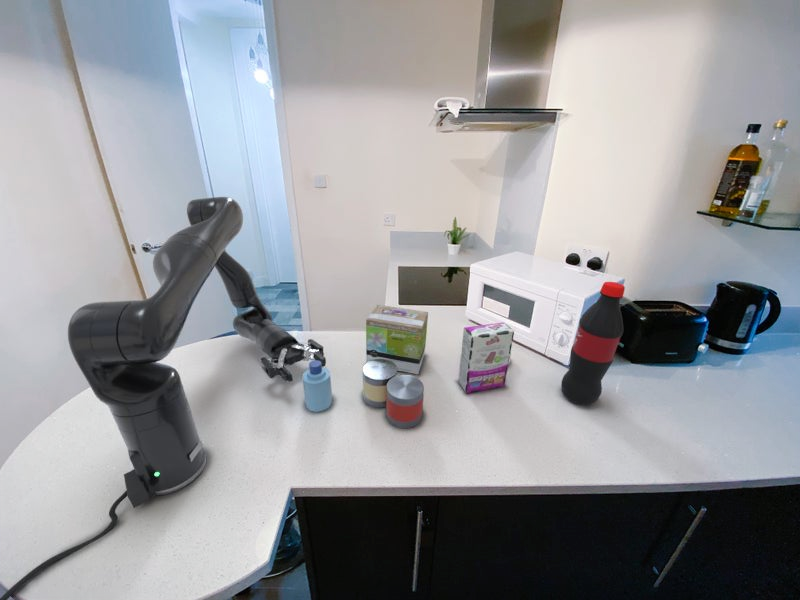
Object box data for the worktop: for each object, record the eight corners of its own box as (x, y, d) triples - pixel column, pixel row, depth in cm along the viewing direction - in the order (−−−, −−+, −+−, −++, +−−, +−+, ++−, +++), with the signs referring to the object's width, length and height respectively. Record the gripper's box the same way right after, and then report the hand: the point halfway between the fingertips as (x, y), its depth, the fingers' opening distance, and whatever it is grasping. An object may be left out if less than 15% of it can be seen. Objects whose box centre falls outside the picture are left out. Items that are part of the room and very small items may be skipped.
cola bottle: (592, 389, 81) (630, 279, 68) (601, 412, 73) (646, 293, 61) (556, 382, 83) (587, 274, 70) (562, 404, 75) (597, 288, 63)
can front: (403, 434, 66) (405, 405, 62) (378, 413, 71) (378, 385, 68) (429, 415, 71) (431, 387, 68) (404, 397, 76) (405, 369, 73)
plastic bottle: (314, 416, 70) (309, 375, 65) (301, 401, 74) (295, 363, 69) (337, 403, 74) (334, 364, 69) (323, 390, 78) (320, 352, 73)
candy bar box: (494, 375, 85) (504, 321, 78) (504, 387, 80) (516, 331, 74) (456, 381, 82) (463, 326, 75) (464, 394, 78) (473, 336, 71)
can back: (378, 413, 71) (378, 384, 68) (356, 395, 76) (355, 367, 73) (403, 396, 76) (404, 369, 73) (381, 380, 81) (381, 354, 78)
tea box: (365, 366, 87) (364, 319, 81) (376, 347, 96) (376, 303, 90) (419, 375, 84) (422, 327, 78) (425, 355, 93) (428, 310, 87)
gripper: (247, 340, 78) (276, 370, 67) (300, 322, 87) (333, 345, 76) (252, 365, 81) (280, 397, 70) (303, 345, 90) (335, 371, 79)
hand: (308, 370), depth 73 cm, fingers open, 8 cm apart
